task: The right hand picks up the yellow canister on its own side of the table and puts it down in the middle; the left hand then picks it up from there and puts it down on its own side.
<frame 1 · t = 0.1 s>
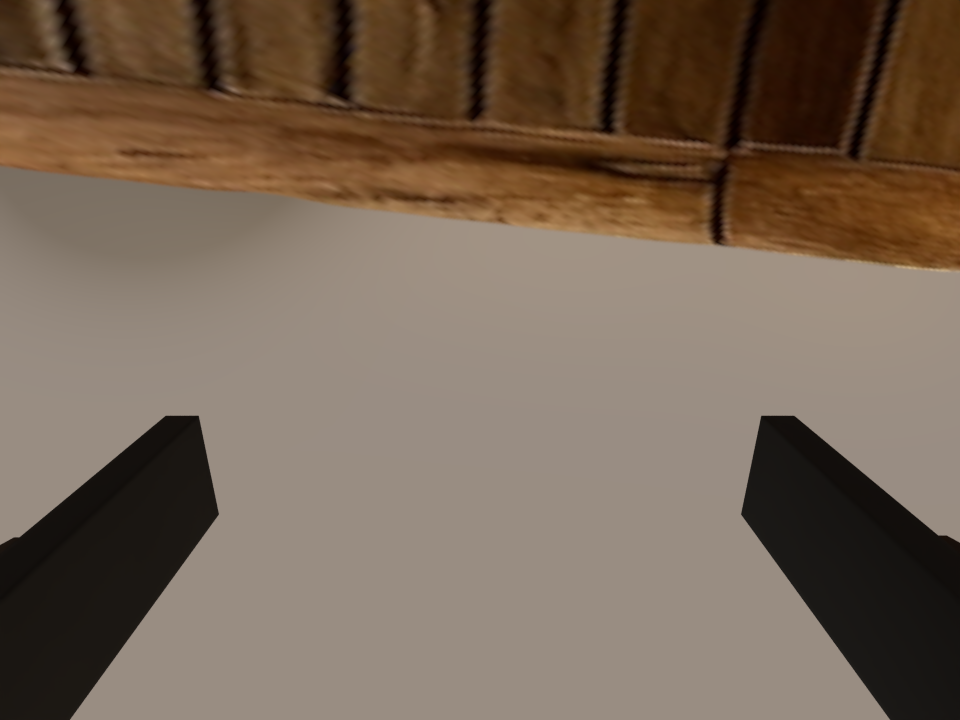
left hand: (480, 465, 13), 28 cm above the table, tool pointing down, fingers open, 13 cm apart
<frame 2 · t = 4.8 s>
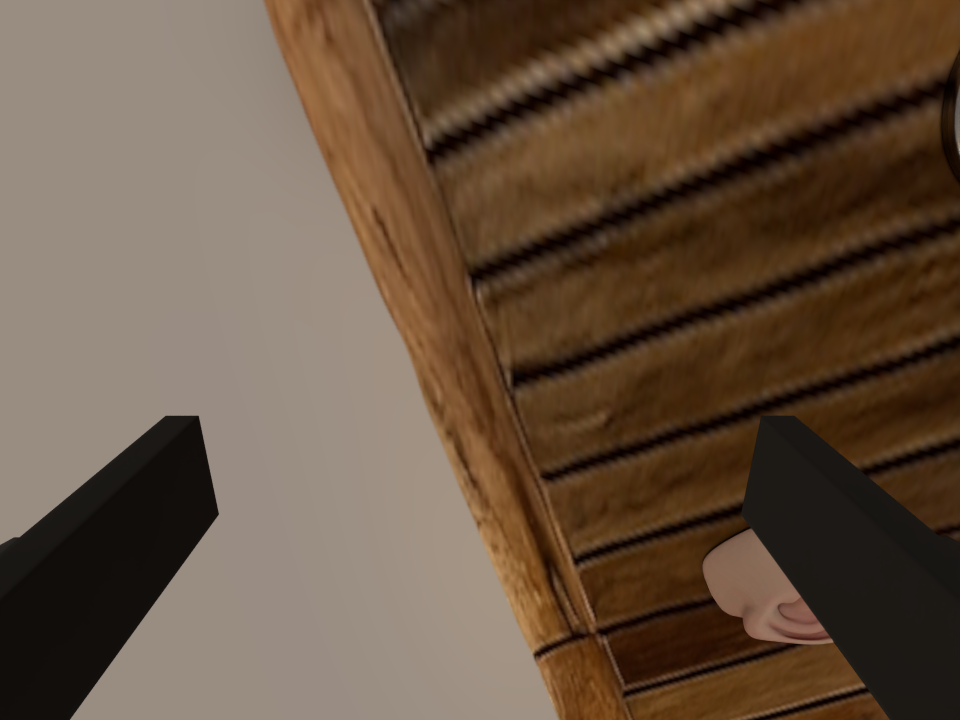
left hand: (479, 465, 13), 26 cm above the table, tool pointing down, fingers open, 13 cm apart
anatomical model: (779, 572, 47), on the table
when the right hand's fingers open (6 cm above the table, at t = 15.9 s): canister drops 2 cm, on the table.
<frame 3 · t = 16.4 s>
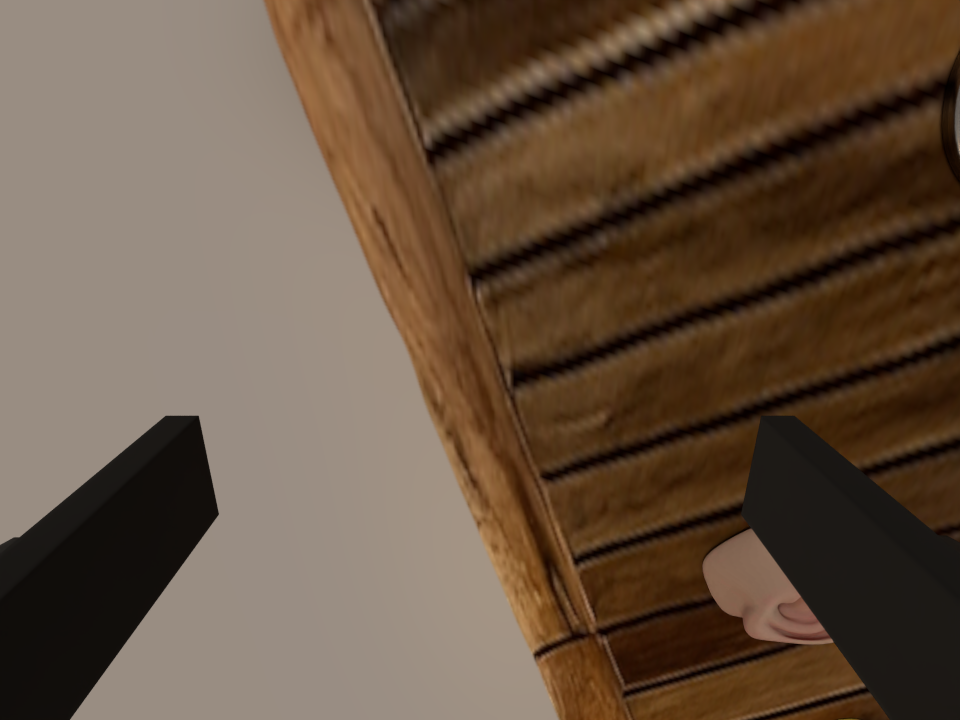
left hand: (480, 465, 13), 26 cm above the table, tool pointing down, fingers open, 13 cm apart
anatomical model: (779, 572, 47), on the table
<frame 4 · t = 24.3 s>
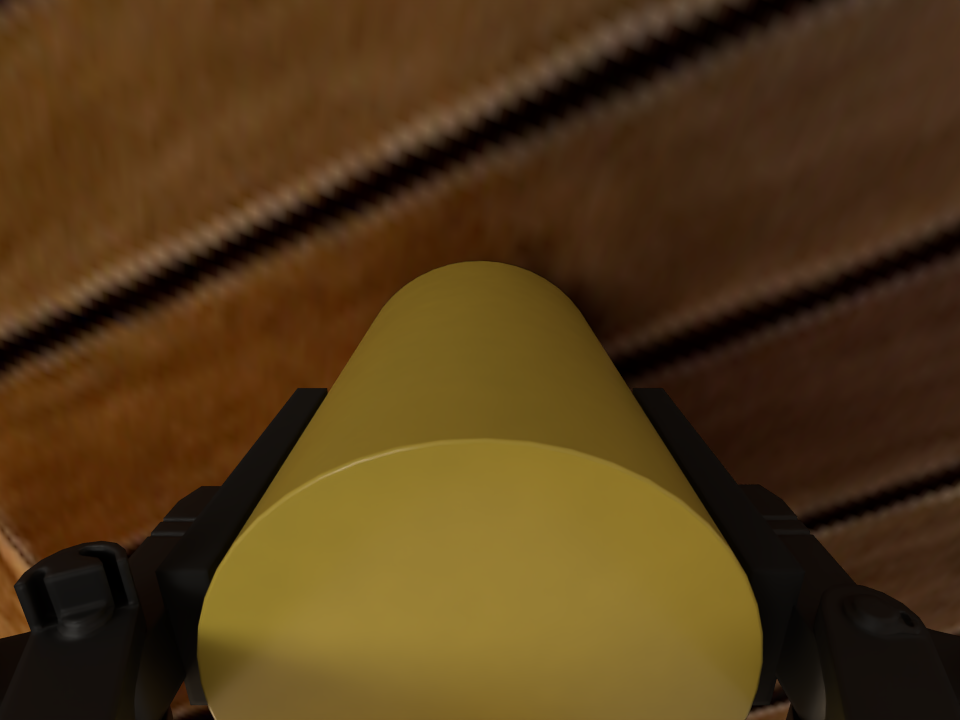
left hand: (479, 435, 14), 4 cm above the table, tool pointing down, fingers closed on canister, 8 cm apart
canister: (479, 378, 18), on the table, touching left hand
when the left hand's fingers open (6 cm above the table, at t = 32.2 s): canister drops 2 cm, on the table.
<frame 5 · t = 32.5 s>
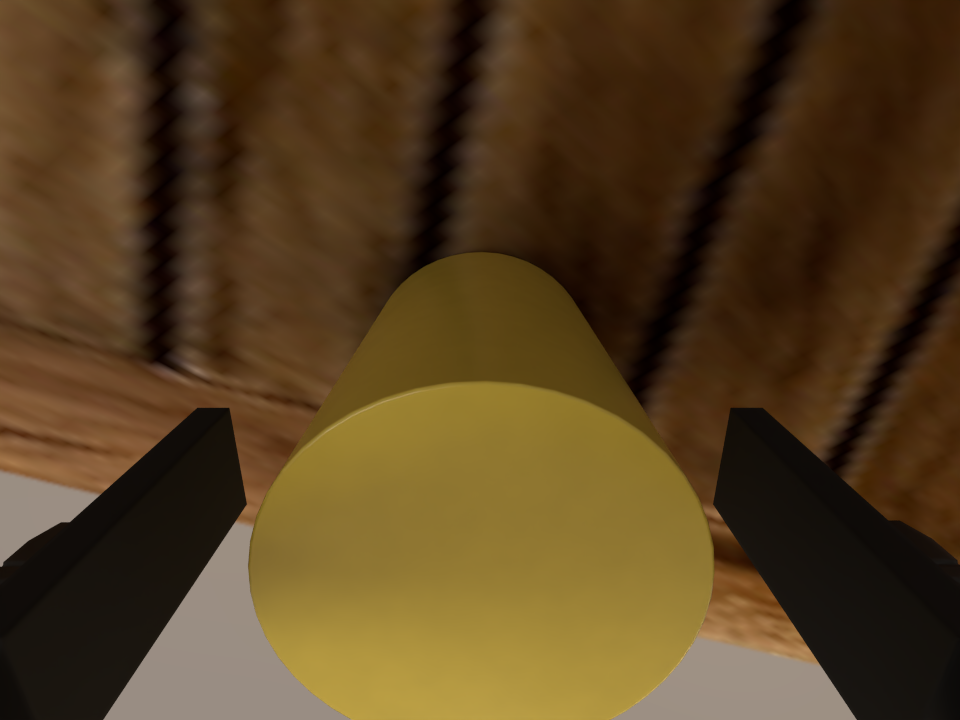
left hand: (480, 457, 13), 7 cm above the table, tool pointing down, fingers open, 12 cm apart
canister: (480, 360, 20), on the table
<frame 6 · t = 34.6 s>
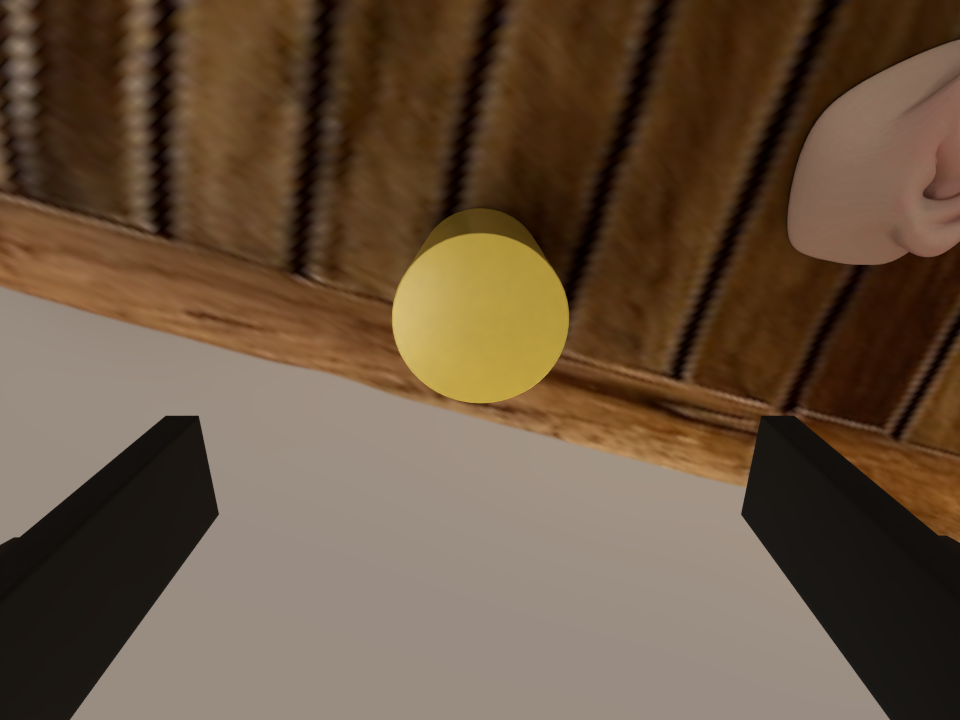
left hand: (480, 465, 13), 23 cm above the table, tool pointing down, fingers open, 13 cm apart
canister: (480, 272, 34), on the table
anatomical model: (895, 164, 32), on the table
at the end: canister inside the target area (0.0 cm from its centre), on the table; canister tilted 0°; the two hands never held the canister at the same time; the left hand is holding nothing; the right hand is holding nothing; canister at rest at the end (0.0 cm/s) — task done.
